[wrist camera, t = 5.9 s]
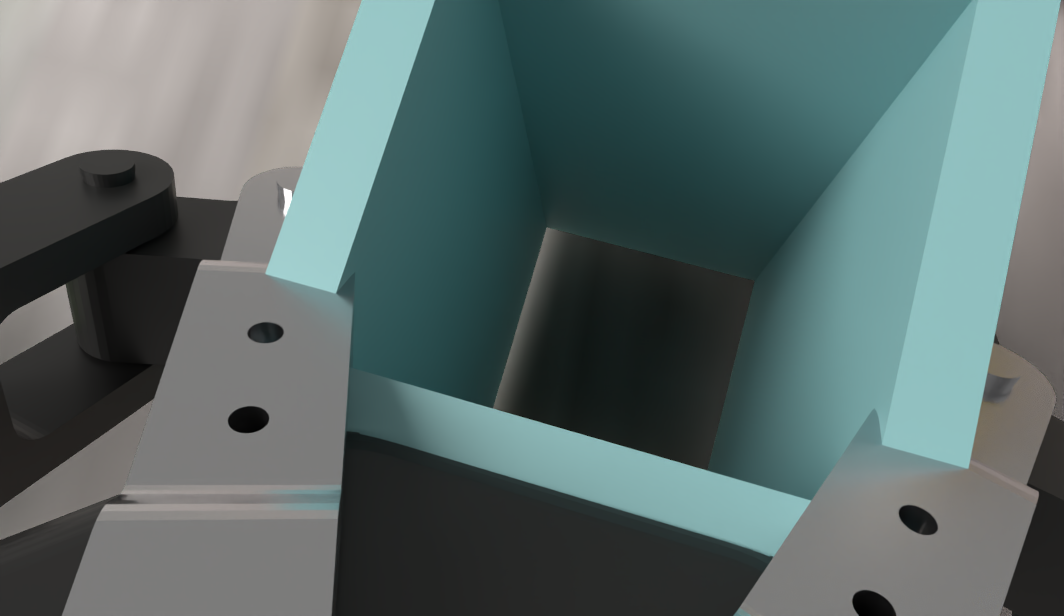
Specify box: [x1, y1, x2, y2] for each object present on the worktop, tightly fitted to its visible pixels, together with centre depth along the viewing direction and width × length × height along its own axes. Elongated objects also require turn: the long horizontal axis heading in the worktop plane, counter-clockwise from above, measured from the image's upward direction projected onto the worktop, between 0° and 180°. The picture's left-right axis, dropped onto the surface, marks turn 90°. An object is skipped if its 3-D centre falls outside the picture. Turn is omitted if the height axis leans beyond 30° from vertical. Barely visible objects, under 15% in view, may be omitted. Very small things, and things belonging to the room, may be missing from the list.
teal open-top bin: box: [265, 0, 1061, 557], centre depth 11 cm, size 5×5×10 cm
